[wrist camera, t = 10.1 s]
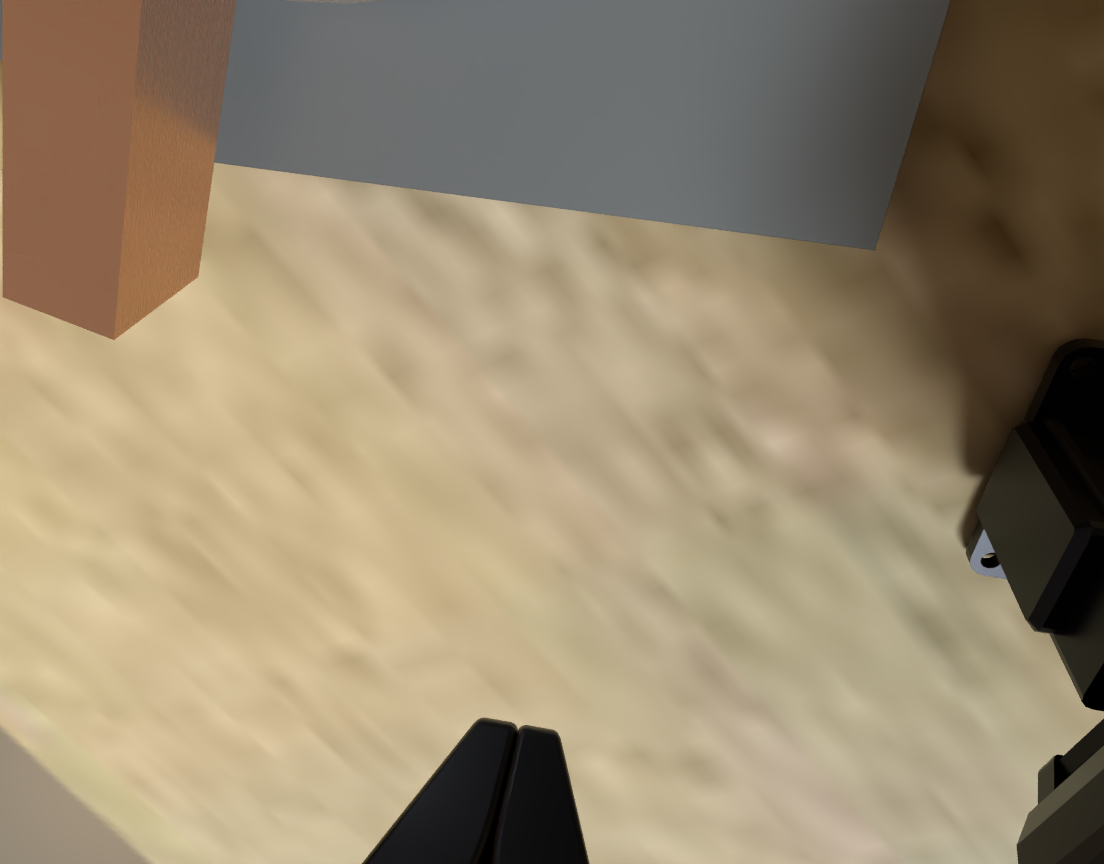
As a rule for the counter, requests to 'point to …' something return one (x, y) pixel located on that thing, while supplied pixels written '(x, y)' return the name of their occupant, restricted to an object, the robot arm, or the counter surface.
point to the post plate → (592, 104)
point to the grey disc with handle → (109, 151)
